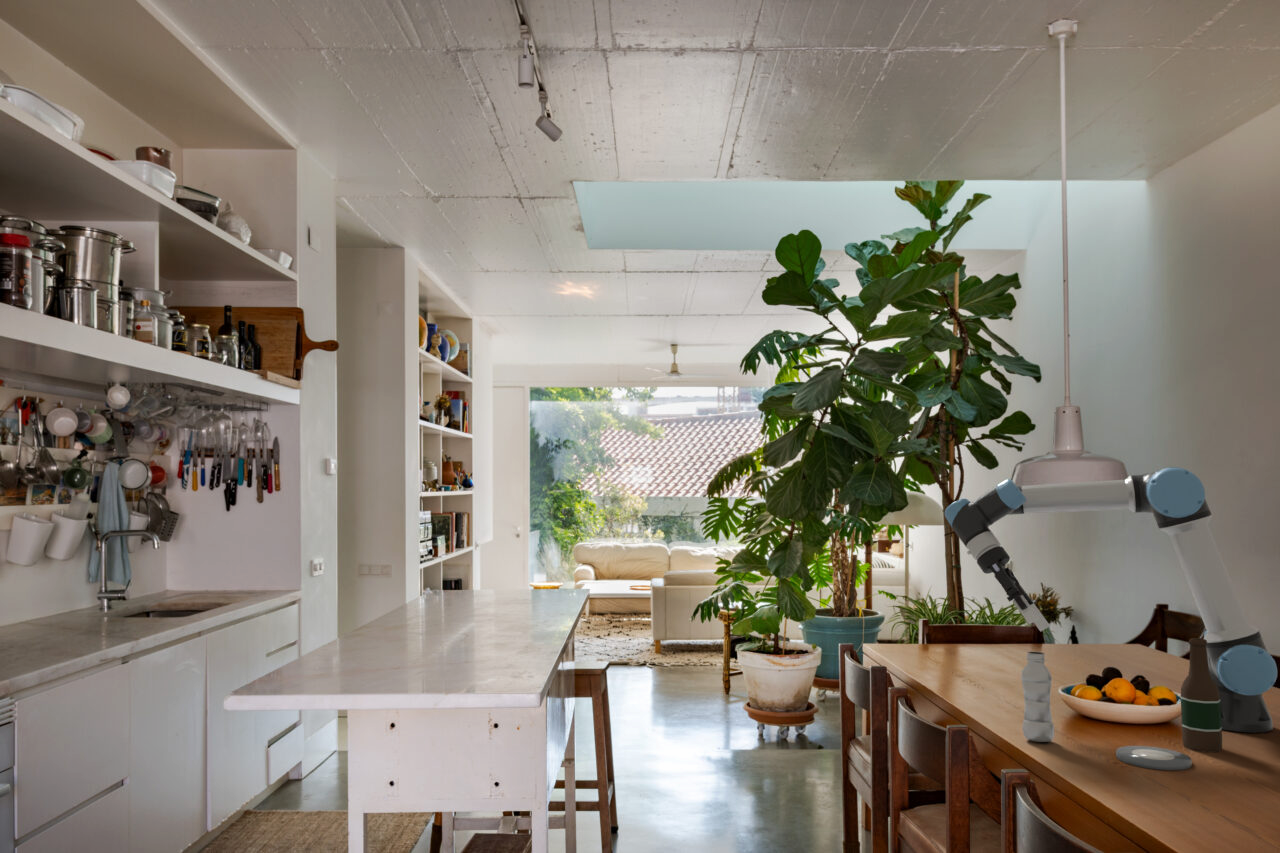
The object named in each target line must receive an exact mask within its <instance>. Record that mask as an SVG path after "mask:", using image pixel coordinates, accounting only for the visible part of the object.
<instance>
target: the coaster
mask: <svg viewBox="0 0 1280 853" xmlns="http://www.w3.org/2000/svg"><path fill="white" fill-rule="evenodd" d="M1115 756H1116V758H1117V759H1118V760H1119V761H1121V762H1122V763H1125V764H1127V765H1131V766H1135V767H1139V768H1144V769H1150V770H1151V769H1152V770H1159V771H1160V770H1161V771H1183V770H1188V769H1190V768H1192V765H1193V764H1192V758H1191V756H1189V755H1188V754H1185V753H1183V752H1180V751H1177V750H1174V749H1173V750H1172V749H1170V748H1163V747H1157V746H1147V745H1146V746H1145V745H1127V746H1120V747H1117V748H1116V749H1115Z"/></svg>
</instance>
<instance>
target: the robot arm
mask: <svg viewBox="0 0 1280 853" xmlns="http://www.w3.org/2000/svg"><path fill="white" fill-rule="evenodd" d="M1205 490H1206V489H1205V487H1204V484H1203V482H1202V481H1201V479H1200V477H1198V476H1197V475H1196V474H1195V473H1193V472H1192V471H1191V470H1188V469H1186V468H1182V467H1173V466H1170V467H1166V468H1163V469H1160V470H1159V469H1158V470H1156V471H1153V472H1149V473H1148V472H1147V473H1143V474H1137V475H1136V474H1134V475H1129V476H1127V477H1126V478H1125V479H1117V480H1116V479H1115V480H1100V481H1099V480H1098V481H1084V482H1082V481H1081V482H1067V483H1065V482H1064V483H1052V484H1051V483H1050V484H1035V485H1034V484H1033V485H1032V484H1031V485H1019V486H1018V485H1017V484H1016V483H1015V481H1013V480H1012V479H1010V478H1007V479H1005V480H1003V481H1001V482H998V484H996V485H995V486H994V487H992V488H991V489H989V490H988V491H986V492H985V493H983V494H981V495H980V496H979V497H978V498H976V499H975V500H973V501H970V500H969V499H967V498H960V499H958V500H956V501H953V502H952V503H951V504H949V505H948V506H947V507H946V508H945V510H944V516H945V519H946V520H947V522H948V524H949V525H950V527H951V529H952V530H953V531H954V533H955V534H956V536H957V537H958V538H959V540H960V541H961V542H962V543H963V545H964V546H965V548H966V549H967V550H968V551H966V552H967V553H966V554H968V556H970V555H971V557H973V559H974V560H976V564H977V565H978V566H979V568H980V570H981V571H982V572H983V573H984V574H987V575H988V574H992V573H993V574H994V578H995V580H997V582H998V583H999V584H1000V586H1001V587H1002V588H1003V591H1004V592H1005V594H1006V596H1007V597H1006V599H1007V601H1008V602H1013V604H1014V605H1015V607H1016V608H1017V609H1018V611H1019V612H1020V613H1021V616H1023V618H1024V619H1025V621H1026V622H1027V624H1028V625H1031V624H1034V625H1035V626H1036V627H1037V629H1038V631H1040V633H1041V632H1042V631H1045V630H1046V629H1048V628H1049V627H1051V625H1050V623H1049V622H1048V620H1046V617H1045V616H1044V615H1043V614H1042V613H1041V611H1040V610H1039V608H1038V607H1037V605H1036V603H1037V601H1036V600H1035V599H1032V598H1031V597H1030V596H1029V595H1028V593H1027V592H1026V591H1025V590H1024V588H1023V587H1022V586H1021V584H1020V582H1019V580H1018V579H1017V577H1015V574H1014V572H1013V571H1012V569H1011V568H1009V567H1008V566H1007V567H1006V565H1007V564H1008V562H1010V559H1011V557H1010V555H1009V554H1008V552H1007V551H1006V550H1005V548H1004V547H1003V546H1001V543H1000V541H999V539H998V538H997V537H996V535H995V534H994V533H993V531H992V530H991V529H990V528H989V527H990V526H993V525H994V524H995V523H996V522H997V521H1000V520H1001V519H1003V518H1005V517H1006V516H1008V515H1009V516H1010V515H1011V516H1012V515H1026V514H1028V515H1029V514H1048V513H1070V512H1086V511H1087V512H1090V511H1091V512H1092V511H1113V510H1114V511H1115V510H1116V511H1117V510H1129V511H1130V512H1132V513H1134V514H1135V513H1150V514H1152V515H1153V517H1154V520H1155V522H1156V525H1157V527H1158V529H1159V531H1162V532H1164V533H1166V534H1167V535H1168V536H1169V538H1170V542H1171V544H1172V547H1173V548H1174V551H1175V553H1176V557H1177V559H1178V561H1179V563H1180V566H1181V569H1182V572H1183V574H1184V577H1185V580H1186V581H1187V583H1188V587H1189V590H1190V592H1191V595H1192V596H1193V599H1194V601H1195V602H1194V603H1195V604H1196V607H1197V609H1198V612H1199V614H1200V617H1201V619H1202V622H1203V624H1204V627H1205V629H1206V630H1205V631H1204V634H1203V639H1205V640H1207V643H1208V644H1207V645H1206V649H1207V657H1208V666H1209V672H1210V676H1211V677H1212V679H1213V680H1214V681H1215V683H1216V684H1217V687H1218V689H1219V692H1220V702H1221V724H1222V730H1224V731H1231V732H1239V733H1241V732H1242V733H1257V734H1258V732H1259V733H1267V732H1268V731H1269V732H1272V731H1273V729H1274V727H1273V726H1274V725H1273V719H1272V716H1271V714H1270V712H1269V709H1268V706H1267V704H1266V702H1265V699H1264V697H1263V694H1264V693H1265V692H1268V691H1269V690H1271V688H1272V687H1273V686H1274V685H1275V683H1276V680H1277V678H1278V667H1277V663H1276V660H1275V658H1273V656H1272V655H1271V654H1270V652H1268V649H1267V647H1266V644H1265V642H1264V640H1263V637H1262V635H1261V632H1260V630H1259V628H1258V627H1255V626H1254V625H1252V624H1250V623H1249V622H1248V620H1247V618H1246V615H1245V613H1244V610H1243V608H1242V606H1241V603H1240V600H1239V598H1238V596H1237V595H1238V594H1237V592H1236V591H1235V588H1234V585H1233V582H1232V580H1231V577H1230V575H1229V573H1228V570H1227V568H1226V565H1225V564H1224V561H1223V558H1222V556H1221V553H1220V551H1219V549H1218V546H1217V544H1216V542H1215V538H1214V536H1213V534H1212V531H1211V528H1210V526H1209V522H1210V521H1211V519H1212V517H1213V515H1212V512H1211V510H1210V507H1209V504H1208V502H1207V499H1206V492H1205ZM1271 730H1272V731H1271ZM1269 732H1268V733H1269Z"/></svg>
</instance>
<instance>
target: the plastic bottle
mask: <svg viewBox="0 0 1280 853" xmlns="http://www.w3.org/2000/svg"><path fill="white" fill-rule="evenodd" d="M1026 661H1027V663H1026V665H1025V666H1023V669H1022V670H1021V673H1020V679H1021V684H1022V689H1023V690H1022V691H1023V698H1024V709H1023V710H1024V711H1023V715H1024V716H1023V717H1024V718H1023V721H1022V732H1023V735H1024V737H1025V739H1027V740H1028V741H1032V742H1036V743H1048V742H1051V741H1053V739H1054V738H1055V737H1054V736H1055V728H1054V723H1053V720H1052V718H1053V717H1052V710H1051V691H1052V679H1053V677H1052V674H1051V672H1050V670H1049V669H1048V667H1047V666H1046V665H1045V662H1046V659H1045V652H1041V651H1027V653H1026Z"/></svg>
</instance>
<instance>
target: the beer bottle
mask: <svg viewBox="0 0 1280 853" xmlns="http://www.w3.org/2000/svg"><path fill="white" fill-rule="evenodd" d="M1207 644H1208V643H1207V640H1205V639H1204V638H1202V637H1201V638H1198V637H1191V638H1190V639H1189V640H1188V645H1189V667H1188V668H1189V670H1188V674H1187V676H1186V677H1185V679H1184V680H1183V682H1182V685H1181V688H1180V707H1181V708H1180V712H1181V733H1182V734H1181V736H1182V738H1181V739H1182V746H1183V747H1184V748H1187V749H1190V750H1192V751H1196V752H1203V753H1220V751H1221V750H1222V748H1223V729H1222V724H1221V702H1220V692H1219V689H1218V687H1217V684H1216V683H1215V681H1214V680H1213V679H1212V677H1211V676H1210V672H1209V666H1208V657H1207V649H1206V645H1207Z"/></svg>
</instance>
